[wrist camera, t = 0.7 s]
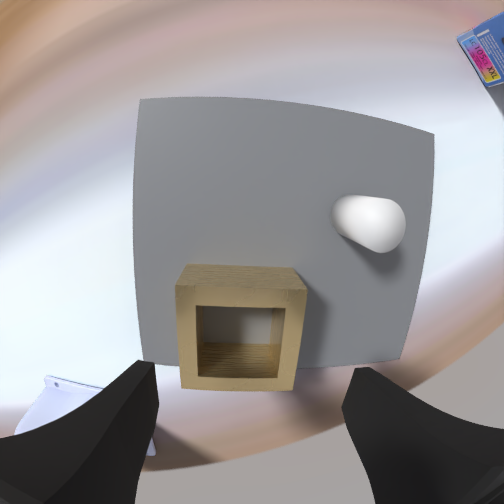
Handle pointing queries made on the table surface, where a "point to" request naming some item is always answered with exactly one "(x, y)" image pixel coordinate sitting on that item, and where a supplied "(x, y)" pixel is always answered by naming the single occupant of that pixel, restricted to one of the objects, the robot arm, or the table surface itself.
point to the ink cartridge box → (486, 49)
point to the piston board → (282, 220)
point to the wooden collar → (239, 354)
